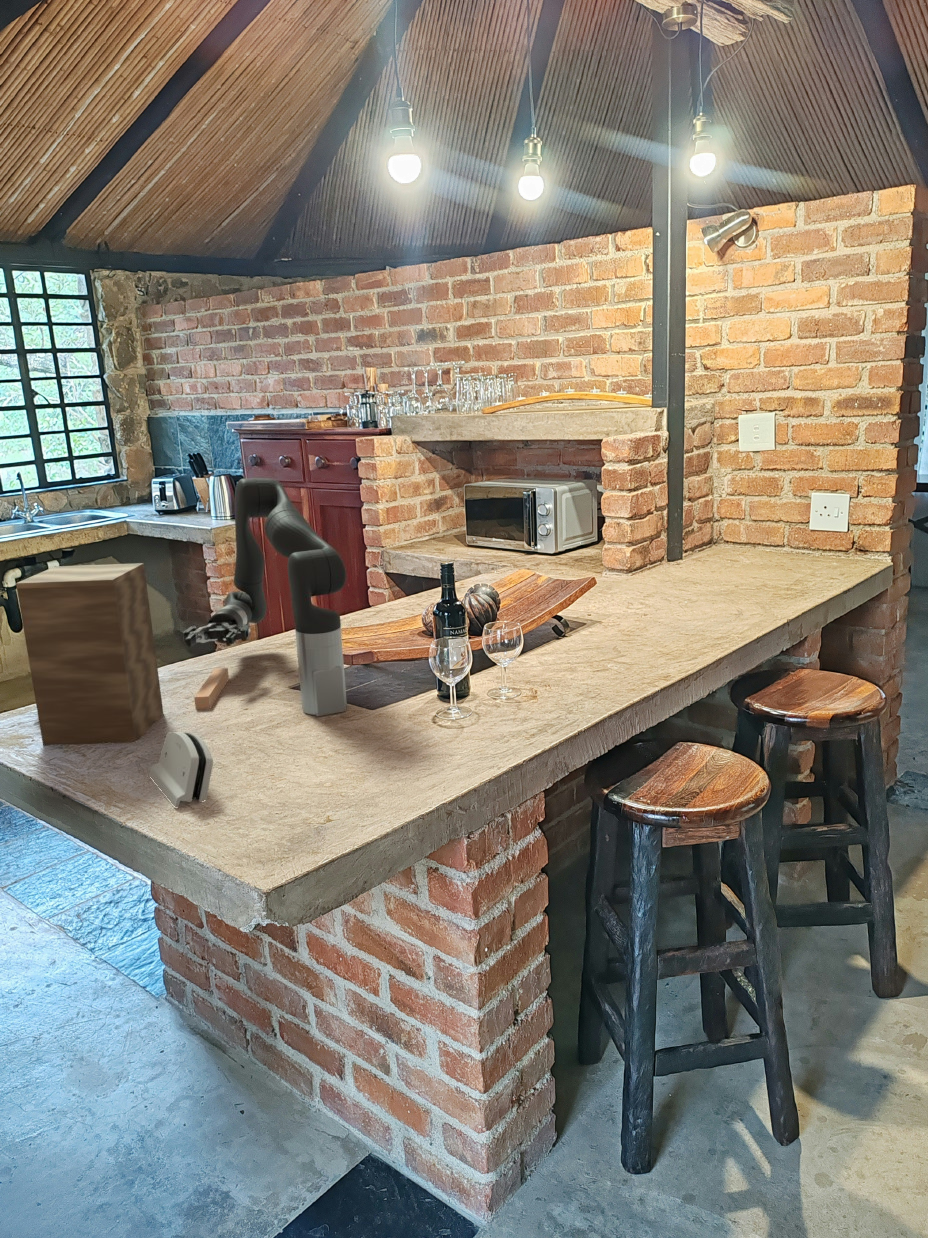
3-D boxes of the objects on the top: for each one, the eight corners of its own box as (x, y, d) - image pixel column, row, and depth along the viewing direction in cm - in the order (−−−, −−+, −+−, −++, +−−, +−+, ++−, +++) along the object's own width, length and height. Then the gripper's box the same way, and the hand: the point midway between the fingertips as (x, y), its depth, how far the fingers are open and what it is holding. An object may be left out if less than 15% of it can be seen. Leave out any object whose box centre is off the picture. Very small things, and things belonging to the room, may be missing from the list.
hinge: (148, 775, 159) (161, 721, 158) (174, 777, 161) (187, 723, 161) (175, 810, 145) (189, 750, 144) (204, 811, 148) (218, 752, 147)
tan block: (216, 681, 211) (214, 668, 210) (229, 680, 211) (227, 668, 210) (195, 710, 192) (194, 697, 191) (210, 709, 192) (208, 696, 191)
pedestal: (78, 716, 190) (55, 566, 182) (163, 713, 190) (143, 563, 182) (43, 745, 175) (16, 583, 167) (135, 742, 174) (112, 579, 166)
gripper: (196, 609, 214) (174, 626, 199) (256, 607, 214) (238, 624, 198) (200, 639, 216) (178, 659, 201) (259, 637, 216) (242, 657, 200)
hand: (208, 642), depth 199 cm, fingers open, 8 cm apart
